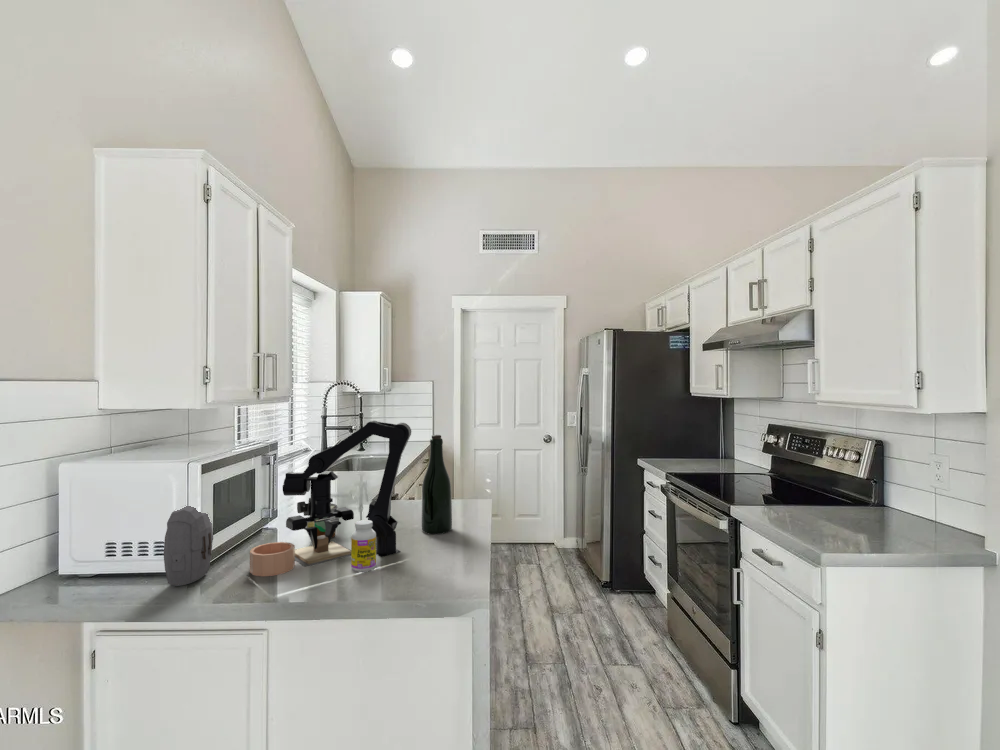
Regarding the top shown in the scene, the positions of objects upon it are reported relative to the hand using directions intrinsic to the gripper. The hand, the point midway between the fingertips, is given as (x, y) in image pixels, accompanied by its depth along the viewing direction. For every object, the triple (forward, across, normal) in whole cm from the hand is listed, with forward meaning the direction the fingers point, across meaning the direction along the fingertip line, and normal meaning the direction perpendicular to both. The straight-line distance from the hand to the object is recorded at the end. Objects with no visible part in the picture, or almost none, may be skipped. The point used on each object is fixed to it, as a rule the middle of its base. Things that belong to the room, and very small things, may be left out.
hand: (320, 547), depth 157 cm
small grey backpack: (+2, +33, -4) cm, 33 cm away
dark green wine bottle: (+2, -40, +3) cm, 40 cm away
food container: (+3, -9, -15) cm, 18 cm away
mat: (+2, 0, 0) cm, 2 cm away
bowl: (+2, +15, +3) cm, 15 cm away
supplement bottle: (+3, -4, +19) cm, 20 cm away
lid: (+2, 0, 0) cm, 2 cm away
